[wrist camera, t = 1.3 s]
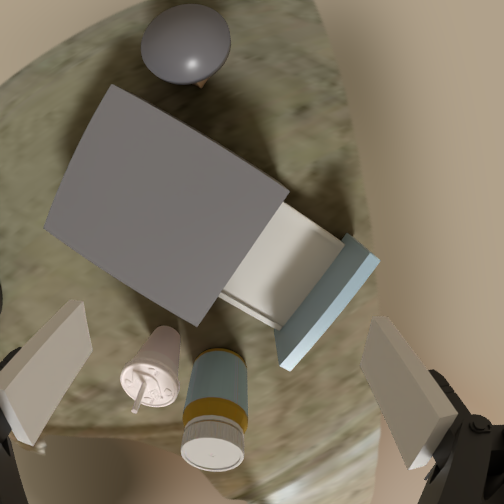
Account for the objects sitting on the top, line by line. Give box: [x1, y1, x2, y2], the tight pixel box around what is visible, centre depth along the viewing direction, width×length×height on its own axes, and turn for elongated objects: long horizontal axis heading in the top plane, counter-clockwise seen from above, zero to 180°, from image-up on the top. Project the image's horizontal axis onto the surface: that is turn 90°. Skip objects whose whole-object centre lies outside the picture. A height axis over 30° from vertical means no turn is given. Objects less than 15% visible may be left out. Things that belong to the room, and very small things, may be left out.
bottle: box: [181, 348, 248, 471], centre depth 34 cm, size 7×7×15 cm
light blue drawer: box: [218, 201, 380, 371], centre depth 32 cm, size 18×14×7 cm
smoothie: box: [120, 326, 181, 413], centre depth 33 cm, size 6×6×14 cm
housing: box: [44, 84, 290, 327], centre depth 30 cm, size 18×15×8 cm
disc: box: [141, 4, 231, 85], centre depth 24 cm, size 8×8×2 cm
